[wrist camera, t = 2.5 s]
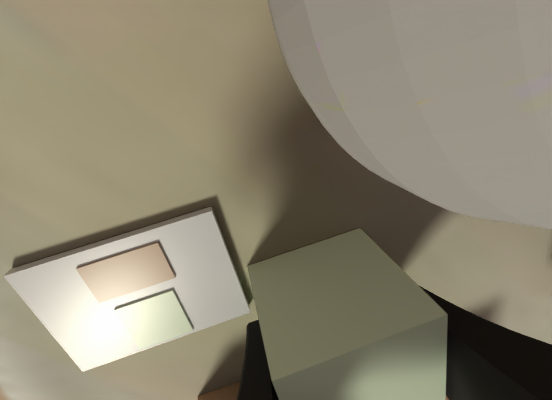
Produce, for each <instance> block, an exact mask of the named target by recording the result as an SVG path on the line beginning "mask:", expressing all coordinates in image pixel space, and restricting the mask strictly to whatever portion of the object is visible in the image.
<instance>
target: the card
mask: <svg viewBox="0 0 552 400" xmlns="http://www.w3.org/2000/svg"><path fill="white" fill-rule="evenodd" d="M4 277H5V279H6V280H7V281H8V282H9V283H10V285H11V286H12V287H13V288H14V289H15V291H16V292H17V293H18V294H19V295H20V297H21V298H22V299H23V300H24V302H25V303H26V304H27V305H28V306H29V308H30V309H31V310H32V311H33V312H34V314H35V315H36V316H37V317H38V318H39V320H40V321H41V322H42V323H43V325H44V326H45V327H46V328H47V329H48V331H49V332H50V333H51V334H52V335H53V337H54V338H55V339H56V340H57V341H58V343H59V344H60V345H61V346H62V347H63V349H64V350H65V351H66V352H67V354H68V355H69V356H70V357H71V358H72V360H73V361H74V362H75V363H76V364H77V366H78V367H79V368H80V369H81V370H82V372H84V371H86V370H89V369H92V368H95V367H98V366H100V365H103V364H106V363H109V362H112V361H115V360H117V359H120V358H123V357H126V356H129V355H132V354H134V353H137V352H140V351H143V350H146V349H149V348H151V347H154V346H157V345H160V344H163V343H165V342H168V341H171V340H174V339H177V338H180V337H182V336H185V335H188V334H191V333H194V332H197V331H199V330H202V329H205V328H208V327H211V326H213V325H216V324H219V323H222V322H225V321H228V320H230V319H233V318H236V317H239V316H242V315H245V314H247V313H250V307H249V304H248V301H247V298H246V296H245V293H244V290H243V288H242V285H241V283H240V280H239V277H238V275H237V272H236V269H235V267H234V264H233V261H232V259H231V256H230V253H229V251H228V248H227V246H226V243H225V240H224V238H223V235H222V232H221V230H220V227H219V224H218V222H217V219H216V216H215V214H214V211H213V209H212V206H211V207H208V208H204V209H201V210H198V211H195V212H192V213H188V214H185V215H182V216H179V217H176V218H172V219H169V220H166V221H163V222H160V223H156V224H153V225H150V226H147V227H144V228H140V229H137V230H134V231H131V232H128V233H124V234H121V235H118V236H115V237H112V238H108V239H105V240H102V241H99V242H95V243H92V244H89V245H86V246H83V247H79V248H76V249H73V250H70V251H67V252H63V253H60V254H57V255H54V256H51V257H47V258H44V259H41V260H38V261H35V262H31V263H28V264H25V265H22V266H19V267H15V268H12V269H10V270H9V271H8V272H7V273H6V274H5V275H4Z"/></svg>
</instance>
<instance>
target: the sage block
mask: <svg viewBox="0 0 552 400" xmlns="http://www.w3.org/2000/svg"><path fill="white" fill-rule="evenodd" d="M247 267H248V272H249V277H250V281H251V286H252V291H253V295H254V300H255V305H256V309H257V314H258V319H259V324H260V328H261V333H262V338H263V342H264V347H265V352H266V356H267V361H268V366H269V370H270V375H271V380H272V383H273V386H274V388H275V391H276V393H277V396H278V398H279V400H446V362H447V322H448V314H447V313H446V312H445V311H444V310H443V309H442V308H441V307H440V306H439V305H438V304H437V303H436V302H435V301H434V300H433V299H432V298H431V297H430V296H429V295H428V294H427V293H426V292H425V291H424V290H423V289H422V288H421V287H419V286H418V285H417V284H416V283H415V282H414V281H413V280H412V279H411V278H410V277H409V276H408V275H407V274H406V273H405V272H404V271H403V270H402V269H401V268H400V267H399V266H398V265H397V264H396V263H395V262H394V261H393V260H392V259H391V258H390V257H389V256H388V255H387V254H386V253H385V252H384V251H383V250H382V249H381V248H380V247H379V246H378V245H377V244H376V243H375V242H374V241H373V240H372V239H371V238H370V237H369V236H368V235H367V234H366V233H365V232H364V231H363V230H362V229H361V228H358V229H355V230H352V231H349V232H346V233H343V234H340V235H337V236H335V237H332V238H329V239H326V240H323V241H320V242H317V243H314V244H311V245H308V246H305V247H302V248H299V249H296V250H293V251H290V252H287V253H284V254H281V255H278V256H275V257H272V258H269V259H266V260H263V261H260V262H257V263H254V264H251V265H249V266H247Z"/></svg>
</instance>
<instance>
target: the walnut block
mask: <svg viewBox="0 0 552 400" xmlns="http://www.w3.org/2000/svg"><path fill="white" fill-rule="evenodd" d="M239 386H240V382H237V383H235V384H232V385H229V386H226V387H223V388H220V389H217V390H214V391H211V392H208V393H205V394H202V395H199V396H198V400H237V395H238V391H239Z"/></svg>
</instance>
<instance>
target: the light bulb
mask: <svg viewBox="0 0 552 400" xmlns="http://www.w3.org/2000/svg"><path fill="white" fill-rule="evenodd" d="M268 4H269V9H270V13H271V17H272V22H273V26H274V30H275V33H276V36H277V39H278V42H279V45H280V49H281V52H282V54H283V57H284V59H285V61H286V64H287V66H288V68H289V71H290V73H291V75H292V77H293V79H294V81H295V82H296V84H297V86H298V88H299V90H300V92H301V93H302V95H303V96H304V98H305V99H306V101H307V102H308V104H309V105H310V107H311V108H312V110H313V111H314V113H315V114H316V116H317V117H318V119H319V120H320V122H321V123H322V125H323V126H324V127H325V129H326V130H327V131H328V132H329V133H330V135H331V136H332V137H333V138H334V139H335V141H336V142H337V143H338V144H339V145H340V146H341V147H342V148H343V149H344V150H345V151H346V152H347V153H348V154H349V155H351V156H352V157H353V158H354V159H355V160H356V161H358V162H359V163H360V164H362V165H363V166H364V167H366V168H367V169H368V170H370V171H372V172H373V173H375V174H377V175H378V176H380V177H382V178H384V179H385V180H387V181H389V182H391V183H393V184H395V185H397V186H399V187H401V188H403V189H405V190H407V191H409V192H411V193H413V194H415V195H417V196H419V197H421V198H423V199H425V200H427V201H429V202H431V203H433V204H435V205H437V206H440V207H442V208H445V209H447V210H449V211H452V212H455V213H459V214H463V215H466V216H470V217H476V218H482V219H489V220H495V221H502V222H509V223H515V224H522V225H529V226H535V227H542V228H549V229H552V0H268Z"/></svg>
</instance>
